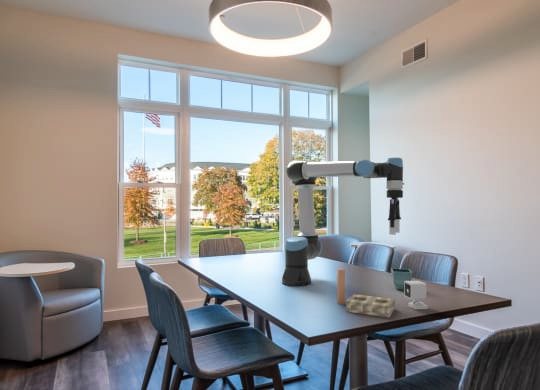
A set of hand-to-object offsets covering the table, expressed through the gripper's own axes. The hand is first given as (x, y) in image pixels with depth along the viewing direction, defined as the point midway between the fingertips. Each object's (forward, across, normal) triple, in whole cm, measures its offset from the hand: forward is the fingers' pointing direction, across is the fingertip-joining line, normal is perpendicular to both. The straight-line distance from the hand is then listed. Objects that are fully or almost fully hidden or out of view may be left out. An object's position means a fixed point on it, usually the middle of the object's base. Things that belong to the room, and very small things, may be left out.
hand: (394, 233), depth 177 cm
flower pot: (+27, +3, -3) cm, 27 cm away
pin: (+27, -36, +16) cm, 48 cm away
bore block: (+27, -41, +3) cm, 49 cm away
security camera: (+27, -28, -12) cm, 41 cm away
